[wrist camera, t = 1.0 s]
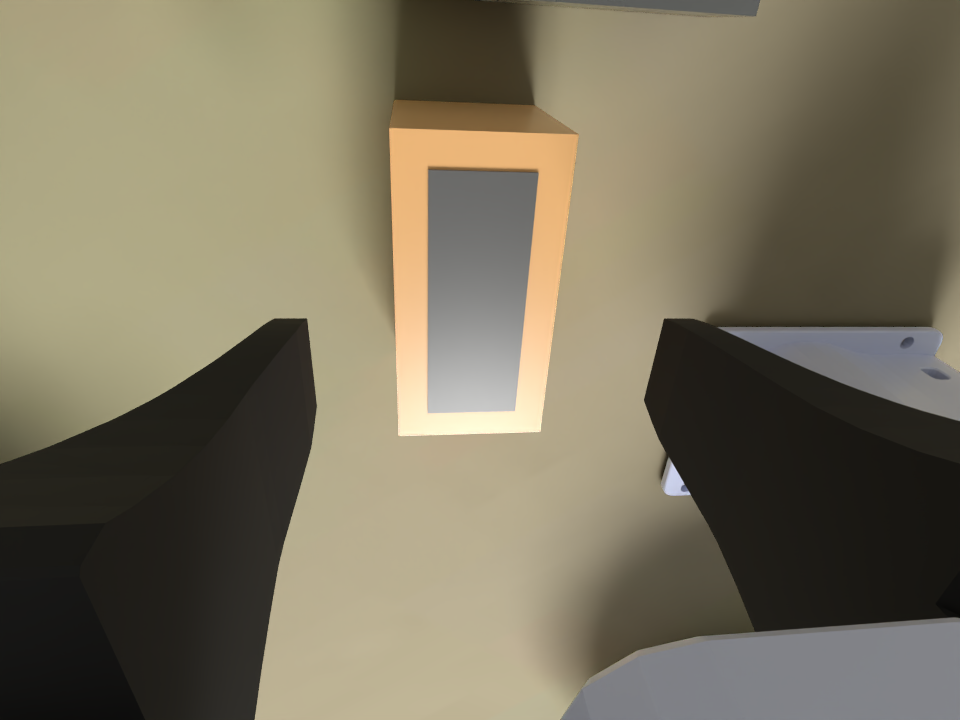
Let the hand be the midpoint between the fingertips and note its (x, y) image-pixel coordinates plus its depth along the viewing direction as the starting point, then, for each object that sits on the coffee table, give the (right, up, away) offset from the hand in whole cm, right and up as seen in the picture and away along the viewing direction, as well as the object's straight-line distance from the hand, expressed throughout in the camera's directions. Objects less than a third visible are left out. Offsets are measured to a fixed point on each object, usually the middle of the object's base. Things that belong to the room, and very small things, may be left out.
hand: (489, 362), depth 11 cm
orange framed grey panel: (-1, +4, +7) cm, 8 cm away
